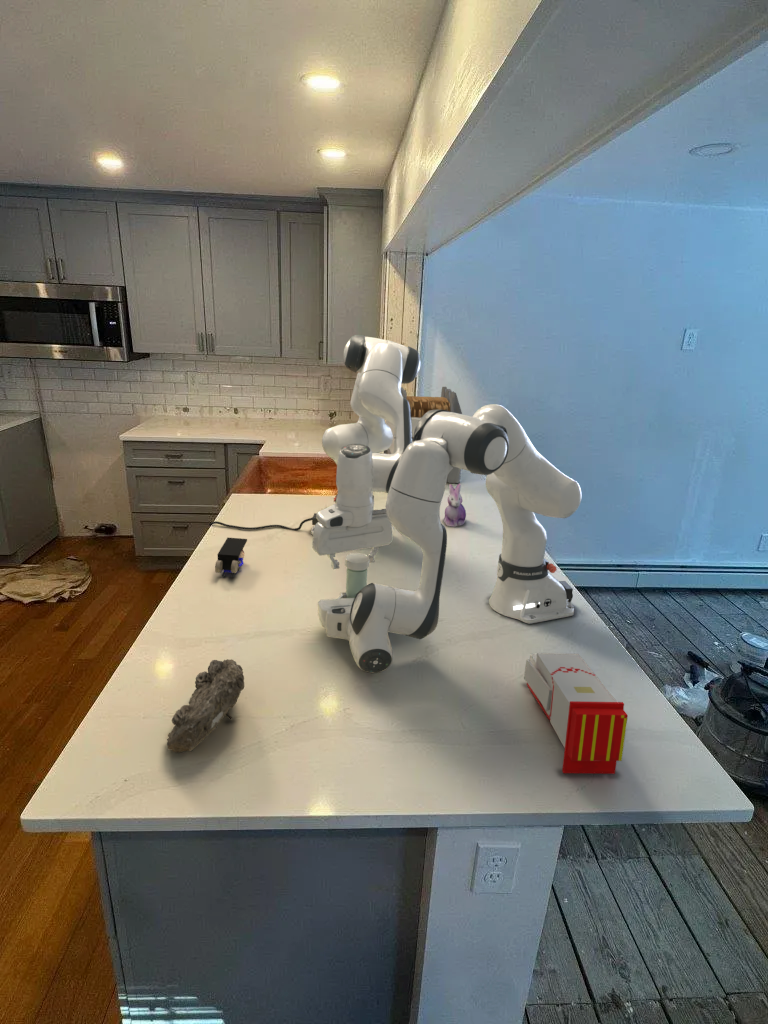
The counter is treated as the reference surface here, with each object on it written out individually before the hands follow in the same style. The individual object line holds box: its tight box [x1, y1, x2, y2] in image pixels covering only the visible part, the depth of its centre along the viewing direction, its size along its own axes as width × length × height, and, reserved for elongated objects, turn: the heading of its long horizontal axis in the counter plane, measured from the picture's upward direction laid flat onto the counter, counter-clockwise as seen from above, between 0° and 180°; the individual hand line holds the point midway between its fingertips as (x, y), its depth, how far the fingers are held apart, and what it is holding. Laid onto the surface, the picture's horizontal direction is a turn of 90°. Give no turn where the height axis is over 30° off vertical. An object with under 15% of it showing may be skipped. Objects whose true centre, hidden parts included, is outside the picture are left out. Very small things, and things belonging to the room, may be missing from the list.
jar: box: [345, 567, 369, 598], centre depth 143 cm, size 5×5×15 cm
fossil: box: [166, 658, 245, 754], centre depth 106 cm, size 22×10×15 cm
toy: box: [523, 652, 628, 775], centre depth 110 cm, size 12×13×30 cm
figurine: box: [443, 483, 467, 528], centre depth 210 cm, size 9×10×15 cm
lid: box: [344, 552, 371, 571], centre depth 141 cm, size 6×6×2 cm
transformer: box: [383, 386, 463, 484], centre depth 268 cm, size 34×33×41 cm
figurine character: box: [214, 537, 248, 578], centre depth 166 cm, size 7×8×15 cm
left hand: (353, 565), depth 141 cm, fingers open, 8 cm apart
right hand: (355, 594), depth 145 cm, fingers closed on jar, 5 cm apart
